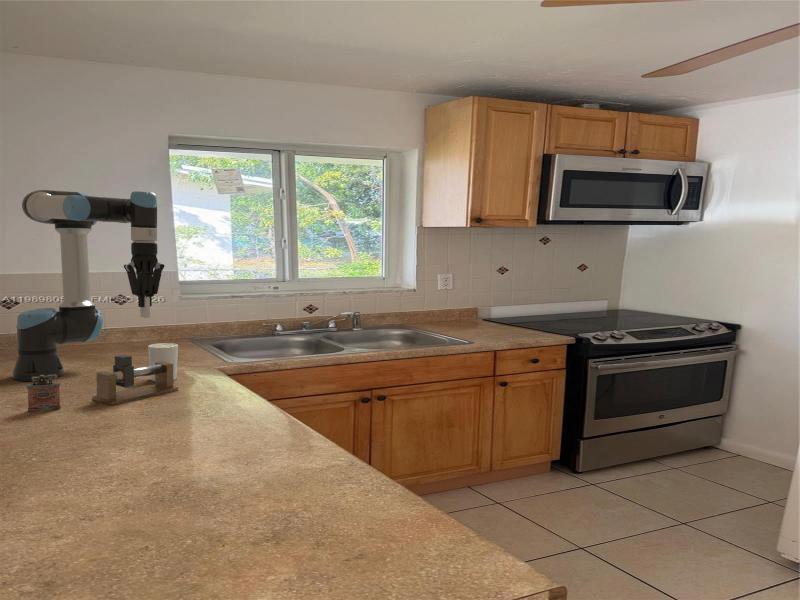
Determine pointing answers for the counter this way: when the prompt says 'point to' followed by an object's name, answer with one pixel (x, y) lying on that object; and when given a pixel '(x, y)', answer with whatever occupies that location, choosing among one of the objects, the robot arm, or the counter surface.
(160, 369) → the pipe rig
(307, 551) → the counter surface
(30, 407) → the lighter
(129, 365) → the collar
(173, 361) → the candle holder
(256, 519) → the counter surface
